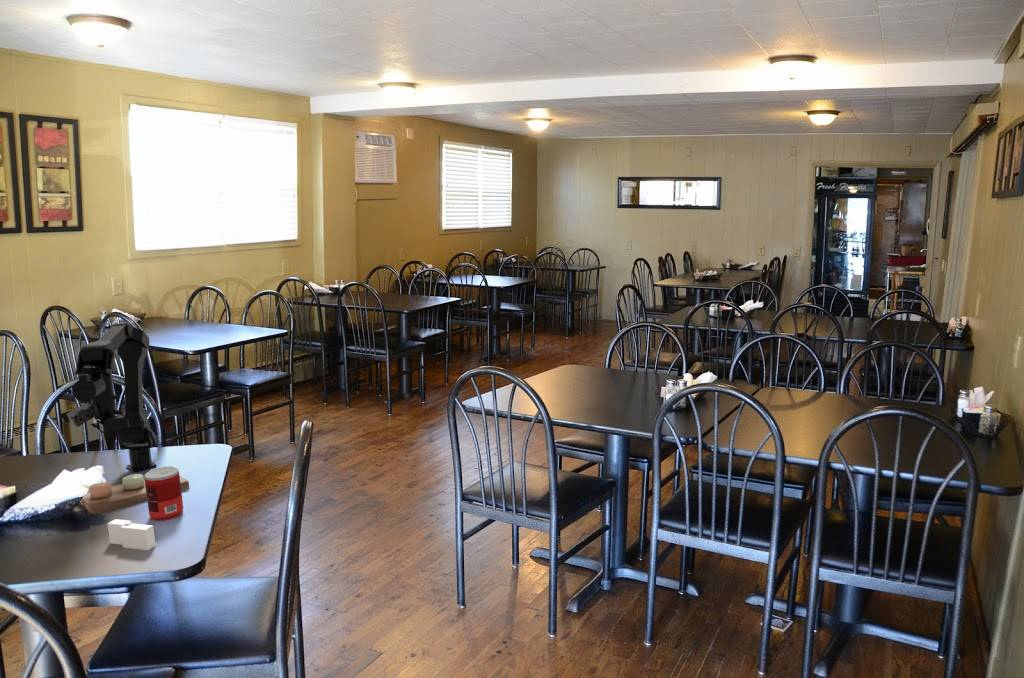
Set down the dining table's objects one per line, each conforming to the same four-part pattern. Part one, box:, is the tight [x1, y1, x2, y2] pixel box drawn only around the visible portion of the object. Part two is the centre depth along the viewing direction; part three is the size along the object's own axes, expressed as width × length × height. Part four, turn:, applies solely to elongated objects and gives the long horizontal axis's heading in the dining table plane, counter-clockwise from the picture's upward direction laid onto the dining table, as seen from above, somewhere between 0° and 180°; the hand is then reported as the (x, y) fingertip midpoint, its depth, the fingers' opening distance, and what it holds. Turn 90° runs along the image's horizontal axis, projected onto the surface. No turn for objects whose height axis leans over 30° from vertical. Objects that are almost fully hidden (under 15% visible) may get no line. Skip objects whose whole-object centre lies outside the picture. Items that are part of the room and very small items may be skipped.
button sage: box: [121, 473, 144, 490], centre depth 213 cm, size 5×5×3 cm
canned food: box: [143, 466, 184, 522], centre depth 198 cm, size 8×8×11 cm
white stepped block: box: [107, 518, 156, 551], centre depth 183 cm, size 15×11×6 cm
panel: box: [80, 474, 190, 516], centre depth 213 cm, size 12×24×2 cm, turn 133°
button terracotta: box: [88, 481, 112, 498], centre depth 207 cm, size 5×5×3 cm
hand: (109, 449), depth 213 cm, fingers closed
